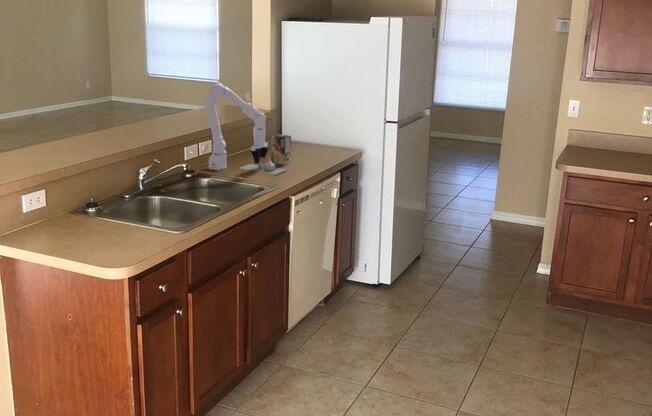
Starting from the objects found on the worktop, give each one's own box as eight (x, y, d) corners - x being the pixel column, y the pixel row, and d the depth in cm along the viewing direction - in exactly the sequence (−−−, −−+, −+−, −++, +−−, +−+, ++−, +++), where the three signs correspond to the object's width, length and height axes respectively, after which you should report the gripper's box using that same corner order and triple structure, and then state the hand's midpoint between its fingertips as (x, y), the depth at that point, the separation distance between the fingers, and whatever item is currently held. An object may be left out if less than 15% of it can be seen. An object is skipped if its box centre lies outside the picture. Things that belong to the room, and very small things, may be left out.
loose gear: (261, 165, 346) (261, 159, 345) (252, 163, 348) (252, 158, 348) (266, 163, 351) (266, 157, 350) (257, 161, 353) (257, 156, 352)
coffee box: (291, 164, 366) (291, 135, 362) (285, 167, 361) (285, 137, 356) (276, 162, 370) (277, 133, 366) (270, 164, 365) (270, 135, 360)
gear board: (275, 176, 341) (276, 165, 339) (238, 170, 349) (238, 159, 347) (286, 171, 351) (287, 161, 349) (250, 166, 360) (250, 155, 358)
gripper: (259, 139, 338) (259, 165, 342) (273, 135, 350) (273, 160, 354) (247, 137, 340) (247, 164, 344) (261, 133, 353) (261, 158, 357)
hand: (259, 162), depth 350 cm, fingers closed on loose gear, 5 cm apart
